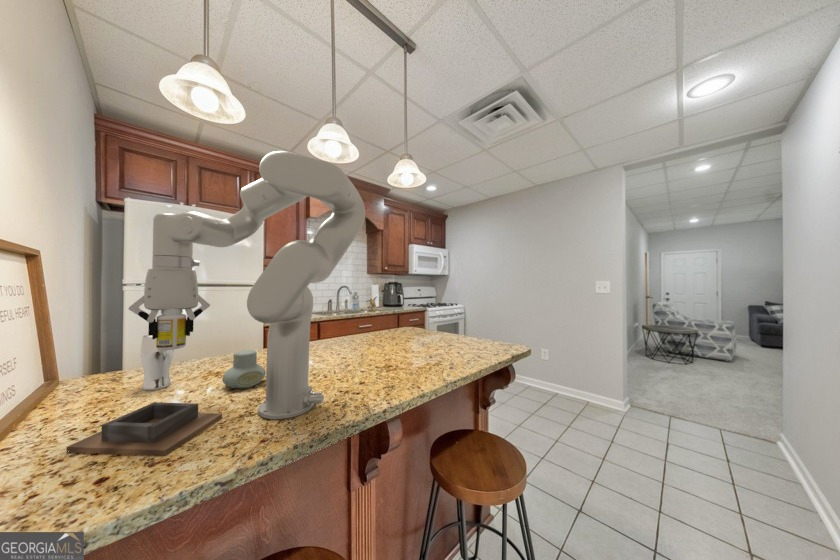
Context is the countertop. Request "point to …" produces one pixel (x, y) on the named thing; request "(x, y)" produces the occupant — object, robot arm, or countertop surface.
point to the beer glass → (155, 364)
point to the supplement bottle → (171, 330)
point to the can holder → (148, 430)
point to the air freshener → (244, 370)
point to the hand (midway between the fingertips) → (171, 335)
